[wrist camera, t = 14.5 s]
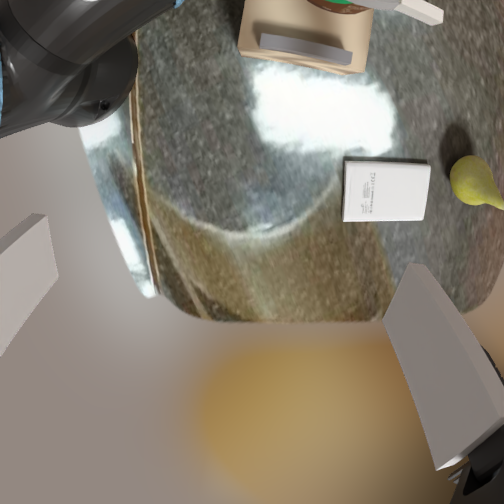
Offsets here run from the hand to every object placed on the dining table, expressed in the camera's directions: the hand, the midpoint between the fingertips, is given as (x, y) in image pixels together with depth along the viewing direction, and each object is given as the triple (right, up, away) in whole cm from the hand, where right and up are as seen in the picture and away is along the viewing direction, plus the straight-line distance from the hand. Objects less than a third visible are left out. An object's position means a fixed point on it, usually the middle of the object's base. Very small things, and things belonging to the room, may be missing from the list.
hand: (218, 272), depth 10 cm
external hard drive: (+19, +9, +28) cm, 35 cm away
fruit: (+31, +12, +26) cm, 42 cm away
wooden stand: (+7, +30, +16) cm, 35 cm away
